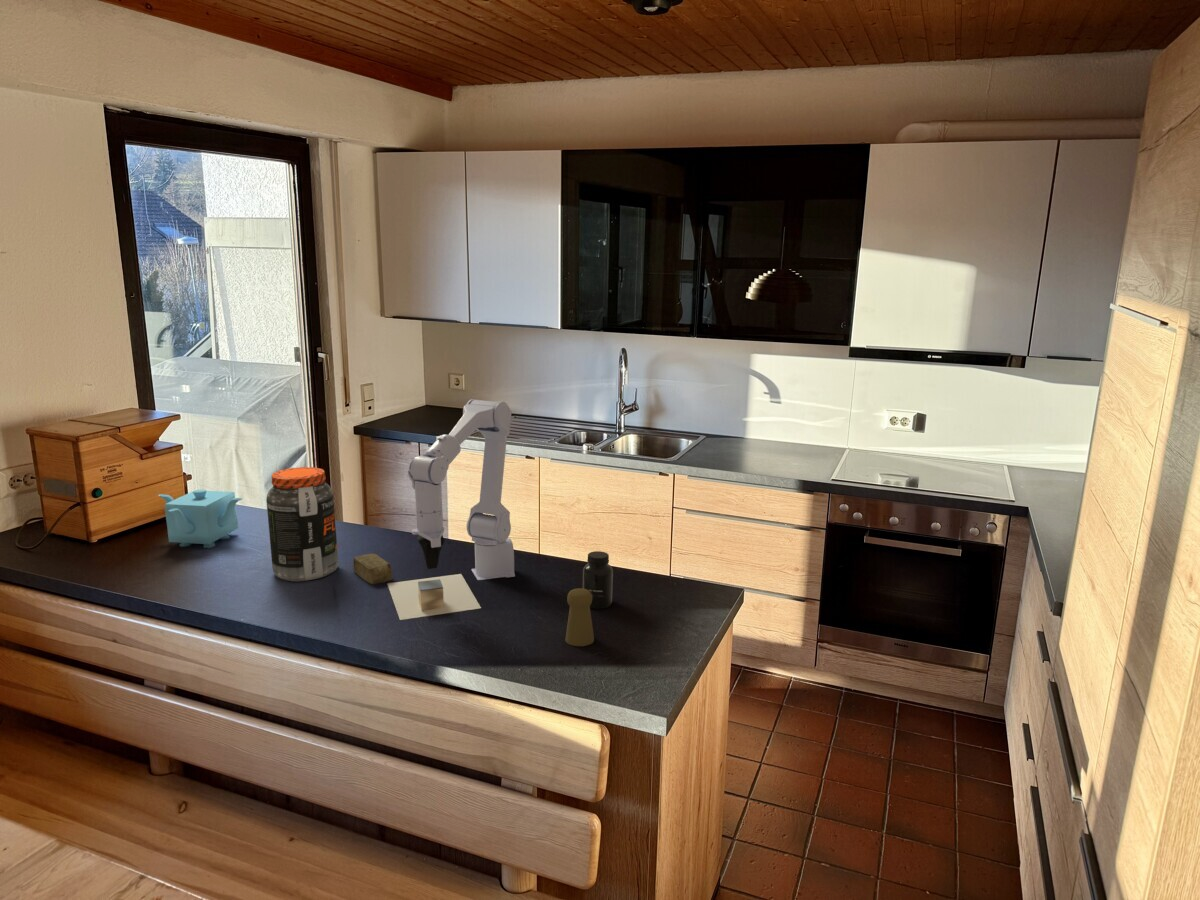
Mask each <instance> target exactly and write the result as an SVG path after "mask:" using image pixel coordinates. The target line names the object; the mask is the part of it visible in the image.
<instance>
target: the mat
mask: <svg viewBox="0 0 1200 900" xmlns="http://www.w3.org/2000/svg"><path fill="white" fill-rule="evenodd" d="M438 579H440V580H441V583H442V586H443V597H444V608H440V609H432V610H424V611H421V608H420V604H419V594H418V582H420V581H429V580H438ZM387 588H388V589H389V593H390V595H391V598H392V599H391V600H392V601H393V605H394V608H395V609H396V613H397V615H398V618H399V620H400V621H403V620H409V619H417V618H418V619H419V618H422V617H431V616H432V617H433V616H437V615H444V614H451V613H452V614H453V613H457V612H465V611H472V610H479V609H482V607H481V605H480V603H479V602H478V600H477V598H476V597H475V595H474V593H473V592H472V590H471V588H470V586H469V585H468V583H467V582H466V579H465V578H464V576H463V575H462V573H458V574H449V575H441V576H435V577H428V578H427V577H425V578H420V579H411V580H404V581H403V580H402V581H398V582H388V583H387Z"/></svg>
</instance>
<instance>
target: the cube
mask: <svg viewBox="0 0 1200 900" xmlns="http://www.w3.org/2000/svg"><path fill="white" fill-rule="evenodd" d="M418 594H419V604H420V608H421V611H424V610H432V609H440V608H444V597H443V586H442V583H441V580H440V579H438V580H429V581H420V582H418Z"/></svg>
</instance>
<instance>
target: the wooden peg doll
mask: <svg viewBox="0 0 1200 900" xmlns="http://www.w3.org/2000/svg"><path fill="white" fill-rule="evenodd" d="M566 598H567V600H566V601H567V604H568V606H569V611H568V619H567V625H566V633H565V643H567V644H568V645H570V646H574V647H586V646H589V645H590V646H591V644H593V643H594V641H595V636H594V629H593V628H594V627H593V621H592V612H591V608H590V605H591V603H592V594H591V593H590V591H589V590H587V589H583V587H582V588H581V587H580V588H573V589H571V590H570V591H569V592H568V593H567V597H566Z"/></svg>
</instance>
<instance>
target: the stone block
mask: <svg viewBox="0 0 1200 900" xmlns="http://www.w3.org/2000/svg"><path fill="white" fill-rule="evenodd" d="M392 571H393V570H392V565H391V564H390V562H388V561H386V560H385V559H383V558H382V557H380V556H379V555H378V554H377V553H367V554H362V555H358V556H354V557H353V573H355V575H357V576H358V577H360V578H361V579H362V580H364V581H366V582H367V583H368V584H371V585H377V584H381V583H386V582H390V581H392V580H393V574H392V573H393V572H392Z"/></svg>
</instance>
